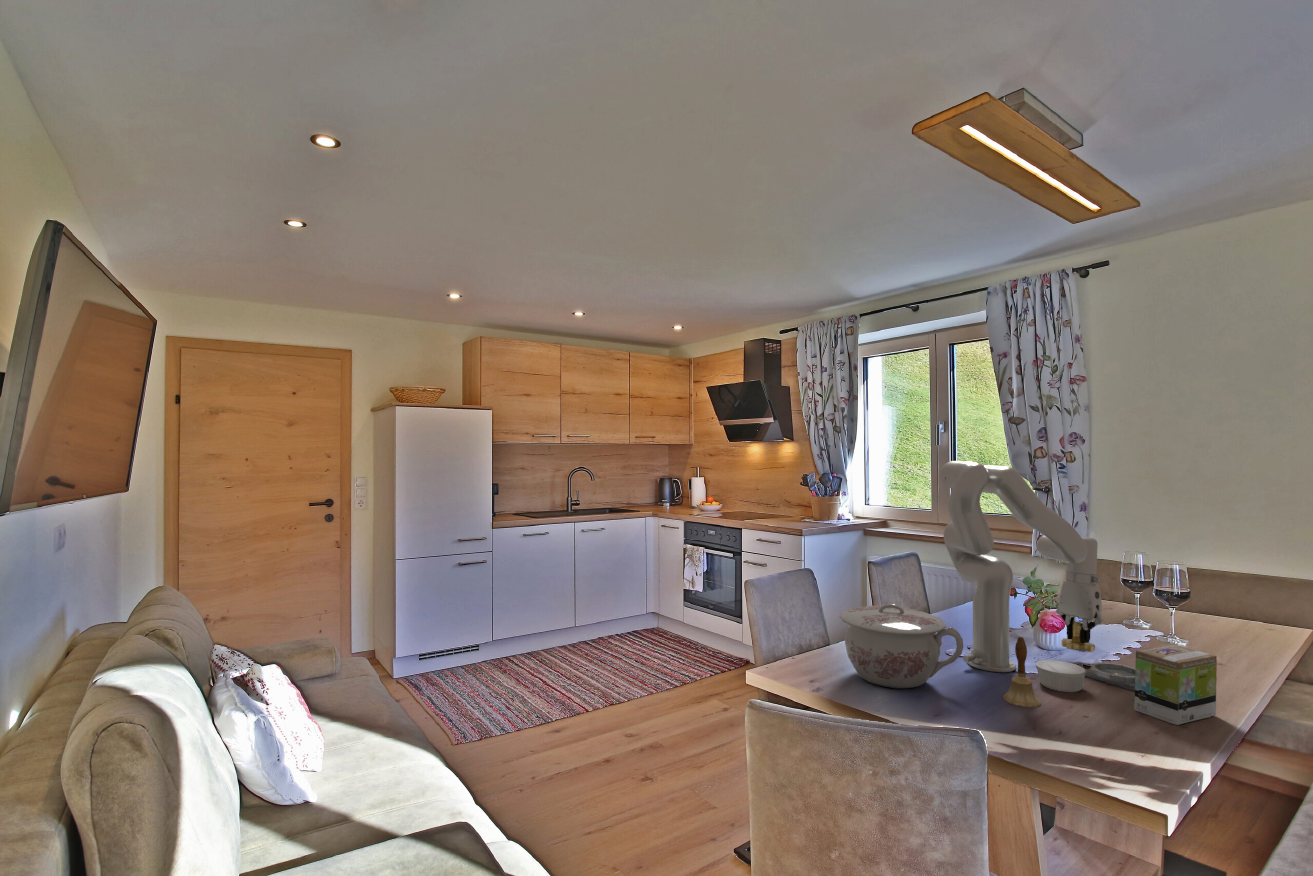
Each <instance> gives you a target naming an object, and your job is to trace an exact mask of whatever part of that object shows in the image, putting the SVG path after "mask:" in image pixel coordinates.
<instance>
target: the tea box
mask: <svg viewBox="0 0 1313 876" xmlns="http://www.w3.org/2000/svg"><path fill="white" fill-rule="evenodd" d="M1217 660H1218V659H1217V655H1215V654H1211V653H1208V652H1207V653H1206V652H1203V651H1200V650H1195V649H1191V648H1188V647H1185V646H1181V645H1176V644H1173V643H1172V644H1165V645H1163V646H1162V645H1160V646H1157V647H1150V648H1144V649H1138V650H1136V651H1135V667H1134V668H1135V691H1134V701H1133V702H1134V711H1136V712H1139V713H1142V714H1144V715H1147V716H1150V717H1152V718H1155V719H1158V720H1161V721H1164V722H1166V723H1169V724H1171V725H1176V726H1180V725H1183V724H1187V723H1190V722H1194V721H1198V720H1202V719H1208V718H1212V717H1211V716H1213V717H1215V716H1217V715H1216V714H1217V712H1216V711H1217V680H1218V679H1217V677H1218V676H1217V669H1218V661H1217Z"/></svg>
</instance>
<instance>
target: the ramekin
mask: <svg viewBox="0 0 1313 876" xmlns="http://www.w3.org/2000/svg"><path fill="white" fill-rule="evenodd" d="M1035 667H1036V670H1037V674H1038V680H1039V682H1040V684H1041V685H1042V686H1043V687H1046V688H1047V689H1049V688H1050V689H1049V690H1052V689H1053V690H1054V691H1056V690H1057V691H1056V692H1062V691H1063V693H1077V692H1079V691H1081V690H1082V688H1083V686H1084V681H1085V680H1084V679H1085V677H1086V676H1085V675H1086V671H1085V670H1086V669H1085V668H1084V667H1082V666H1080V665H1078V664H1075V663H1071V662H1067V661H1062V660H1051V659H1048V660H1045V659H1044V660H1040V661H1037V662H1036V663H1035Z"/></svg>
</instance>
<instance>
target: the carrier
mask: <svg viewBox="0 0 1313 876" xmlns="http://www.w3.org/2000/svg"><path fill="white" fill-rule="evenodd" d="M1085 671H1086V675H1085V676H1084V677H1086V676H1087V677H1086V678H1090V679H1093V680H1097V681H1100V682H1103V683H1106V684H1110V685H1113V686H1116V687H1119V688H1122V689H1125V690H1129V691H1132V692H1135V667H1132V666H1128V665H1125V664H1121V663H1114V662H1102V661H1101V662H1093V663H1090V667H1089V668H1087V669H1085Z"/></svg>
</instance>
